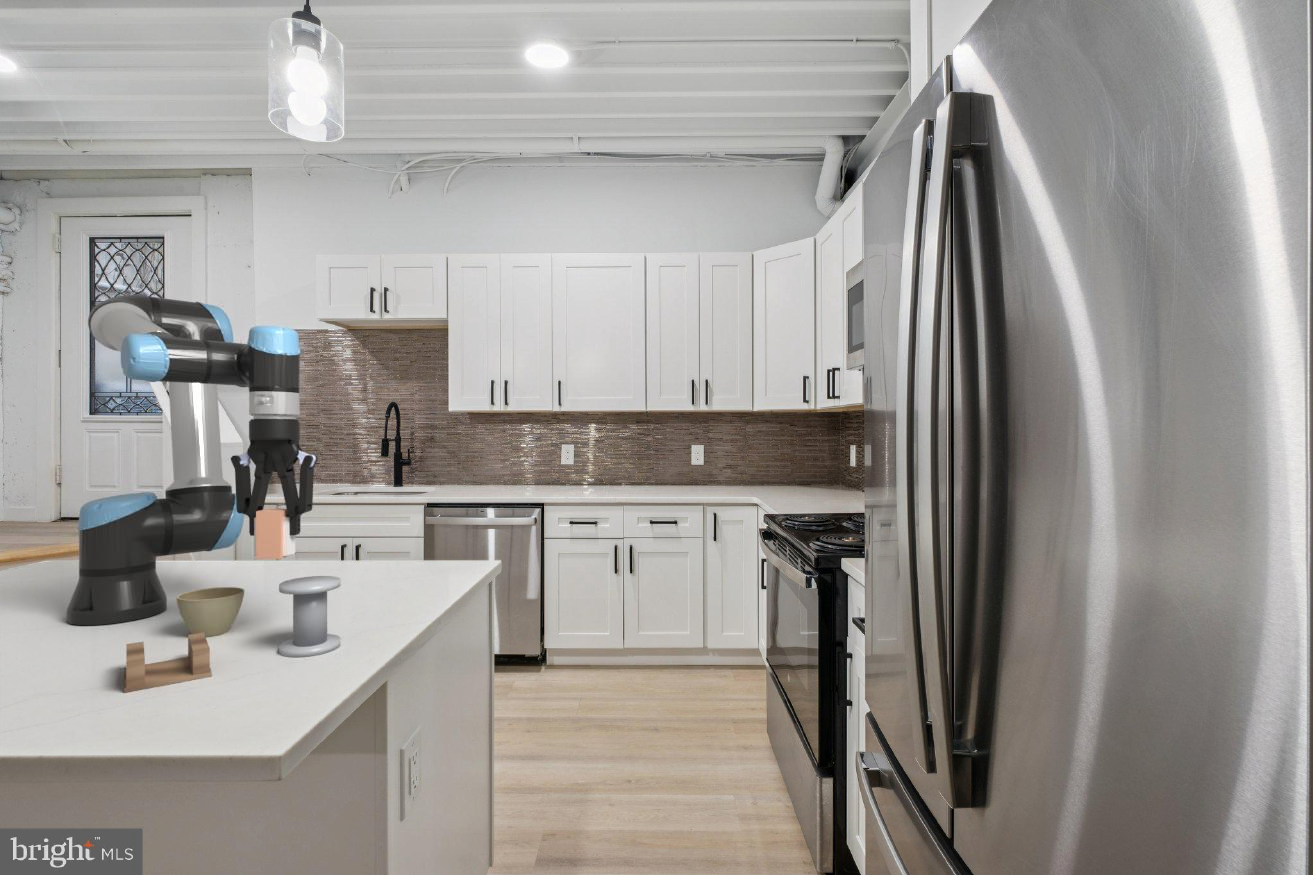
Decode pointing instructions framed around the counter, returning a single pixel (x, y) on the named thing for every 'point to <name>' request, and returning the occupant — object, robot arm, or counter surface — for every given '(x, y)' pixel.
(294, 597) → the bobbin
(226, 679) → the counter surface
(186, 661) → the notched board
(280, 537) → the peach rectangular block
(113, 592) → the robot arm
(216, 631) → the flower pot
